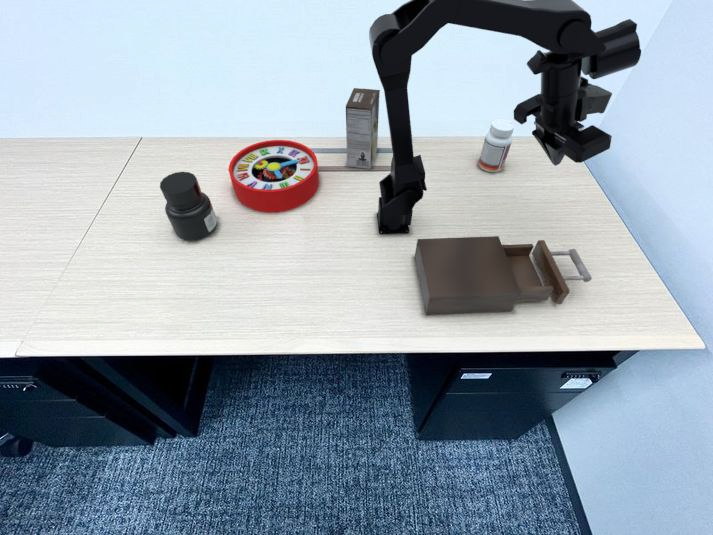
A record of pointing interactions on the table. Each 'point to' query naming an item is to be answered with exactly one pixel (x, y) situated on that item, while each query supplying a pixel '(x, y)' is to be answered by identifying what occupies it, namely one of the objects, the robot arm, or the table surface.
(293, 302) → the table surface
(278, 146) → the toy clock
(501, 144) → the pill bottle
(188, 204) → the ink bottle
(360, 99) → the coffee box
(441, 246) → the cabinet
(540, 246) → the drawer
